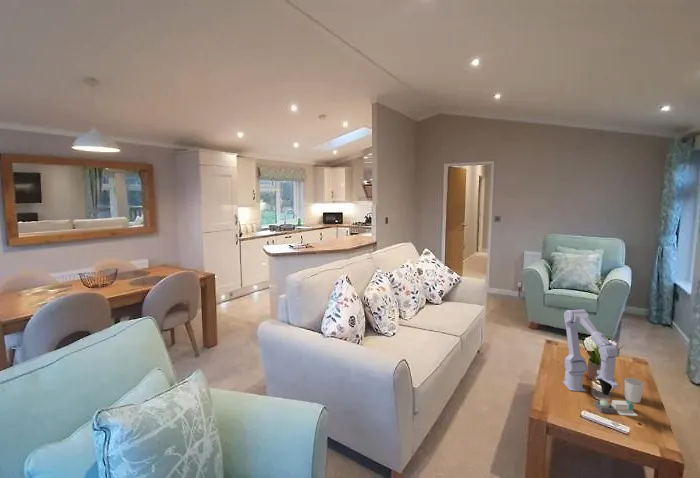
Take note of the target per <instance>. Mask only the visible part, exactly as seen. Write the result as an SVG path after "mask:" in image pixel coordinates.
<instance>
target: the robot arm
mask: <svg viewBox="0 0 700 478" xmlns="http://www.w3.org/2000/svg"><path fill="white" fill-rule="evenodd" d="M563 318H564V324H565V330H566V338H567V346H568V355H567V356H565V358H564V359H565V360H564V369H565V372H564V380H563V381H562V383H563V384H564V385H565V386H566V388H567V389H568V390H569V391H573V392H587V391H586V389H585V388H584V387H583V385H584V384H583V382H584V381H583V380H584V375H585V374H586V373H585V372H587V371H588V369H589V368H588V367H589V366H588V364H587V361H586V358H585V357H583V356H582V355H581V348H580V347H581V346H580V341H579V340H580V338H579V334H578V326H579V325H581V326H582V327H583V328H584V329H585V330H586V331H587V332H588V333H589V334H590V335H591V336H590V338H591V340H592V341H593V342H594V344H595V345H596V347H597V348H598V353H599V355H600V369H597V370H596V374H597V378H598V383H599V384H600V387H601V391H602V393H601V394H603V396H609V395H610V392H611V390H612V389H618V387H619V386H618V383H617V381H616V379H615V373H616V372H615V371H616V361H617V357H619V356H620V349H619V348H618V346H617V345H616V344H615V343H614V344H613V343H612V342H610V340H608V338H607V337H606V336H605V335H604V333H603V332H601V331H598V330H597V328H596V327H595V325H594V323H592V321H591V320H590V314H589V313H588V312H587V310H586V309H584V308H581V309H567V310H565V312H564V313H563Z"/></svg>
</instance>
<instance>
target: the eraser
mask: <svg viewBox="0 0 700 478" xmlns="http://www.w3.org/2000/svg"><path fill="white" fill-rule="evenodd" d="M611 405H612V407H613V408H614V409H615V411H616V410H628V411H633V412H634V406H635V405H634V404H633V402H630V401H628V400H617V399H616V400H615V399H614V400H613V399H612V400H611Z"/></svg>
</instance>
